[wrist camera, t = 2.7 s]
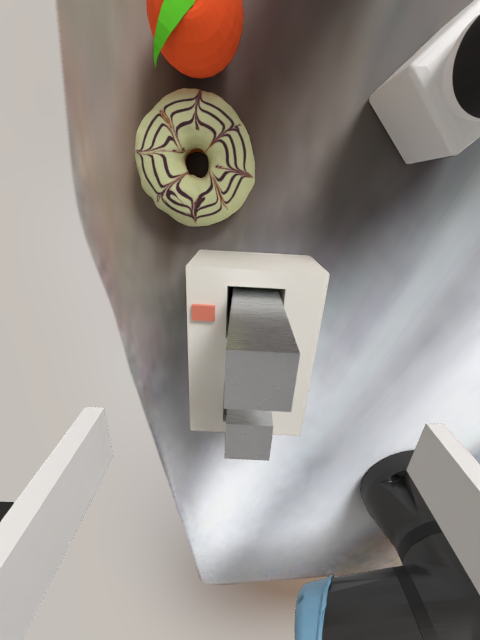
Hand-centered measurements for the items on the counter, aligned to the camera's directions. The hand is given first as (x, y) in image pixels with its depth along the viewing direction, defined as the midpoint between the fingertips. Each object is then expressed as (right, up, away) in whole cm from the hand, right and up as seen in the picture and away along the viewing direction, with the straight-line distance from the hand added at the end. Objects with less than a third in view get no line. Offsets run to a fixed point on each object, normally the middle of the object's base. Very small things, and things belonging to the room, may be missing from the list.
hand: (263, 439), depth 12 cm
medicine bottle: (+15, +25, +14) cm, 32 cm away
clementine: (-4, +28, +12) cm, 31 cm away
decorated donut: (-5, +20, +16) cm, 26 cm away
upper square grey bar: (0, +9, +21) cm, 22 cm away
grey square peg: (0, 0, +25) cm, 25 cm away
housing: (0, +4, +23) cm, 23 cm away
